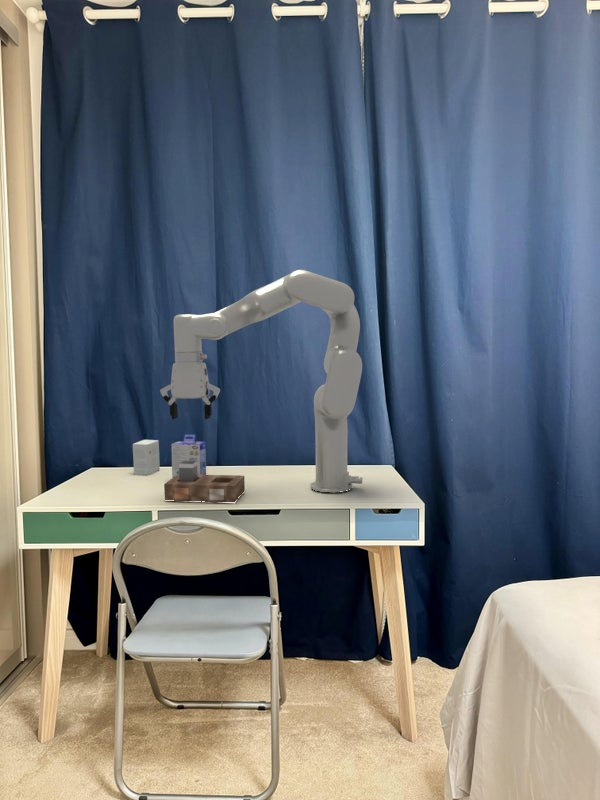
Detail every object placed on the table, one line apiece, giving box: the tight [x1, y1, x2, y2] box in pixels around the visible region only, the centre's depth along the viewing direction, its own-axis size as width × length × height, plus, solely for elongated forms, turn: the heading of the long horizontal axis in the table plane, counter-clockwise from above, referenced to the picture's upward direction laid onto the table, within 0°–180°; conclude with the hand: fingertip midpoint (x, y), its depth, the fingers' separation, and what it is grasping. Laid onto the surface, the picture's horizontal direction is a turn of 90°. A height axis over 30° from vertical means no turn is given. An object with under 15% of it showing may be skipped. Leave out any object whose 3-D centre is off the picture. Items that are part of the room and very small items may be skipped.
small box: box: [132, 439, 161, 476], centre depth 203 cm, size 8×6×10 cm
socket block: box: [163, 474, 246, 502], centre depth 172 cm, size 20×12×5 cm, turn 82°
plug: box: [179, 461, 198, 482], centre depth 172 cm, size 4×4×10 cm
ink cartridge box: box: [171, 433, 207, 479], centre depth 192 cm, size 10×6×14 cm, turn 78°
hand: (191, 418), depth 172 cm, fingers open, 9 cm apart
